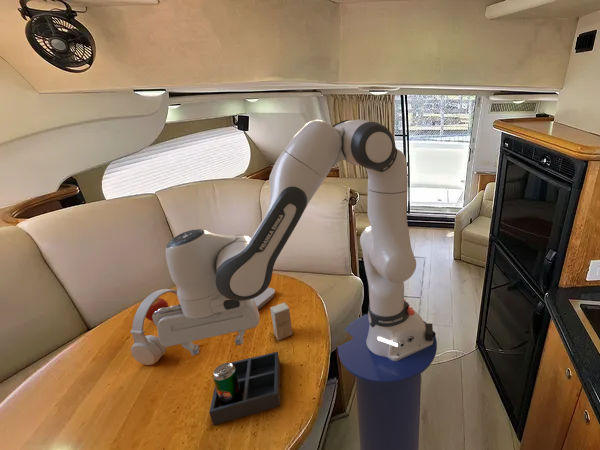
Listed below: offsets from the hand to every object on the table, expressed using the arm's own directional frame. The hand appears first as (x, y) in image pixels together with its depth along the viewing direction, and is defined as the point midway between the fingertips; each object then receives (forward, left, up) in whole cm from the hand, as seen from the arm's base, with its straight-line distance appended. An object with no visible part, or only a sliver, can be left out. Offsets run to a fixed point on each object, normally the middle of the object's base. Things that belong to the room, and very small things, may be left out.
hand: (218, 348), depth 75 cm
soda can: (0, 0, -19) cm, 19 cm away
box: (-13, -25, -20) cm, 34 cm away
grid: (-4, -4, -19) cm, 20 cm away
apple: (+31, -50, -20) cm, 62 cm away
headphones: (+23, -32, -20) cm, 44 cm away
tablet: (+4, -53, -20) cm, 56 cm away
